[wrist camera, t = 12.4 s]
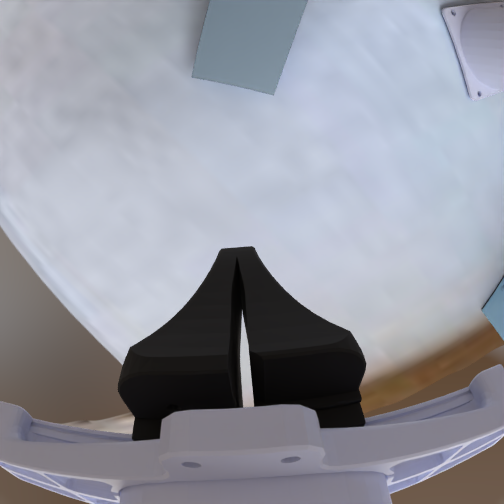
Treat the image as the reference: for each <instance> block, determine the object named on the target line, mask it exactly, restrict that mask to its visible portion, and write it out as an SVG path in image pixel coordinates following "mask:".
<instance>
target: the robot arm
mask: <svg viewBox="0 0 504 504" xmlns="http://www.w3.org/2000/svg"><path fill="white" fill-rule="evenodd" d="M500 6H501V7H500ZM451 11H452V12H453V15H452V13H451ZM442 15H443V17H444V19H445V22H446V24H447V27H448V30H449V32H450V35H451V38H452V40H453V43H454V46H455V49H456V52H457V55H458V58H459V61H460V64H461V67H462V71H463V74H464V78H465V81H466V85H467V89H468V93H469V96H470V98H471V100H474V101H477V100H480V99H483V98H485V97H488V96H491V95H494V94H496V93H499V92H502V91H504V2H494V3H481V4H471V5H462V6H454V7H448V8H443V9H442ZM478 92H479V94H477V93H478ZM242 311H243V317H244V322H245V328H246V333H247V339H248V344H249V355H250V366H251V376H252V387H253V397H254V407H247V408H243V400H242V385H241V370H240V341H241V320H242ZM365 369H366V361H365V358H364V355H363V353H362V350H361V348H360V347H359V345H358V343H357V341H356V340H355V338H354V336H353V335H352V333H351V332H350V331H348V330H346V329H344V328H342V327H339V326H337V325H335V324H333V323H330V322H328V321H327V320H325V319H323V318H321V317H320V316H318V315H316V314H314V313H313V312H311V311H310V310H309V309H307V308H306V307H304V306H303V305H301V304H300V303H299V302H298V301H297V300H295V299H294V298H293V297H292V296H291V295H290V294H289V293H288V292H286V291H285V290H284V289H283V287H282V286H281V285H280V284H279V283H278V282H277V281H276V280H275V279H274V277H273V276H272V275H271V274H270V272H269V271H268V270H267V268H266V267H265V266H264V264H263V263H262V261H261V259H260V258H259V256H258V254H257V252H256V250H255V248H254V247H252V246H250V247H237V248H225V249H221V250H220V251H219V253H218V256H217V258H216V260H215V262H214V264H213V266H212V268H211V270H210V271H209V273H208V275H207V276H206V278H205V280H204V281H203V283H202V284H201V285H200V287H199V288H198V290H197V291H196V293H195V294H194V295H193V296H192V298H191V299H190V300H189V301H188V302H187V303H186V305H185V306H184V307H183V308H182V309H181V310H180V311H179V312H178V313H177V314H176V315H175V316H174V317H173V318H172V319H171V320H169V321H168V322H167V323H166V324H165V325H163V326H162V327H161V328H159V329H158V330H157V331H155V332H154V333H153V334H151V335H150V336H148V337H147V338H145V339H143V340H142V341H140V342H138V343H137V344H135V345H133V346H132V347H130V349H129V351H128V354H127V356H126V358H125V361H124V364H123V367H122V371H121V375H120V379H119V383H118V392H119V394H120V396H121V398H122V399H123V401H124V402H125V404H126V405H127V407H128V408H129V410H130V411H131V412H132V414H133V415H134V417H135V421H134V427H133V433H132V434H123V433H113V432H105V431H97V430H90V429H84V428H78V427H72V426H66V425H61V424H56V423H51V422H46V421H41V420H37V419H33V418H32V417H31V416H30V414H29V413H28V412H27V411H26V410H24V409H23V408H21V407H20V406H17V405H14V404H10V403H6V402H2V401H0V466H1V467H2V468H4V469H5V470H7V471H8V472H10V473H11V474H13V475H14V476H16V477H18V478H19V479H21V480H24V481H26V482H29V483H31V484H34V485H37V486H39V487H43V488H45V489H48V490H51V491H53V492H56V493H59V494H62V495H65V496H68V497H71V498H74V499H77V500H80V501H84V502H87V503H91V504H392V501H391V497H390V494H391V493H393V492H396V491H399V490H401V489H404V488H406V487H409V486H411V485H414V484H416V483H419V482H421V481H423V480H425V479H427V478H430V477H432V476H434V475H437V474H439V473H441V472H443V471H445V470H447V469H449V468H451V467H453V466H455V465H457V464H459V463H461V462H463V461H465V460H467V459H469V458H471V457H472V456H474V455H476V454H478V453H480V452H482V451H484V450H485V449H487V448H489V447H491V446H493V445H494V444H495V443H496V442H498V441H499V440H500V439H501V438H502V437H503V436H504V368H503V367H502V365H501V364H499V365H496V366H494V367H492V368H489V369H487V370H484V371H482V372H480V373H479V374H478V375H477V376H475V378H474V379H473V380H472V382H471V383H470V385H469V387H466V388H464V389H461V390H459V391H456V392H453V393H450V394H448V395H445V396H442V397H439V398H436V399H433V400H430V401H427V402H424V403H421V404H417V405H414V406H411V407H408V408H404V409H400V410H397V411H393V412H389V413H385V414H381V415H377V416H373V417H369V418H364V415H363V411H362V408H361V405H360V402H361V394H360V391H359V386H360V384H361V381H362V378H363V376H364V373H365Z"/></svg>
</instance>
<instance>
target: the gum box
mask: <svg viewBox="0 0 504 504" xmlns="http://www.w3.org/2000/svg"><path fill="white" fill-rule="evenodd" d="M482 312H483V313H484V314H485V316H486V317H487V318H488V320H489V321H490V322H491V324H492V325H493V326H494V328H495V329H496V331H497V332H498V333H499V335H500V336H501V337H502V339H503V340H504V278H503V280H502V281H501V283H500V284H499V286H498V287H497V289H496V290H495V292H494V293H493V295H492V296H491V298H490V299H489V301H488V302H487V304H486V305H485V306H484V308H483V309H482Z"/></svg>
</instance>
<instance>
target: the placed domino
mask: <svg viewBox="0 0 504 504" xmlns="http://www.w3.org/2000/svg"><path fill="white" fill-rule="evenodd" d="M307 1H308V0H210V2H209V6H208V10H207V14H206V17H205V21H204V25H203V29H202V33H201V37H200V41H199V46H198V50H197V54H196V59H195V63H194V68H193V73H192V78H198V79H203V80H209V81H214V82H219V83H224V84H228V85H233V86H237V87H242V88H246V89H250V90H254V91H258V92H262V93H266V94H270V95H274V93H275V90H276V87H277V84H278V81H279V79H280V76H281V73H282V70H283V67H284V64H285V62H286V59H287V56H288V53H289V50H290V48H291V45H292V42H293V39H294V37H295V34H296V31H297V28H298V26H299V23H300V20H301V18H302V15H303V12H304V9H305V7H306V4H307Z"/></svg>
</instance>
